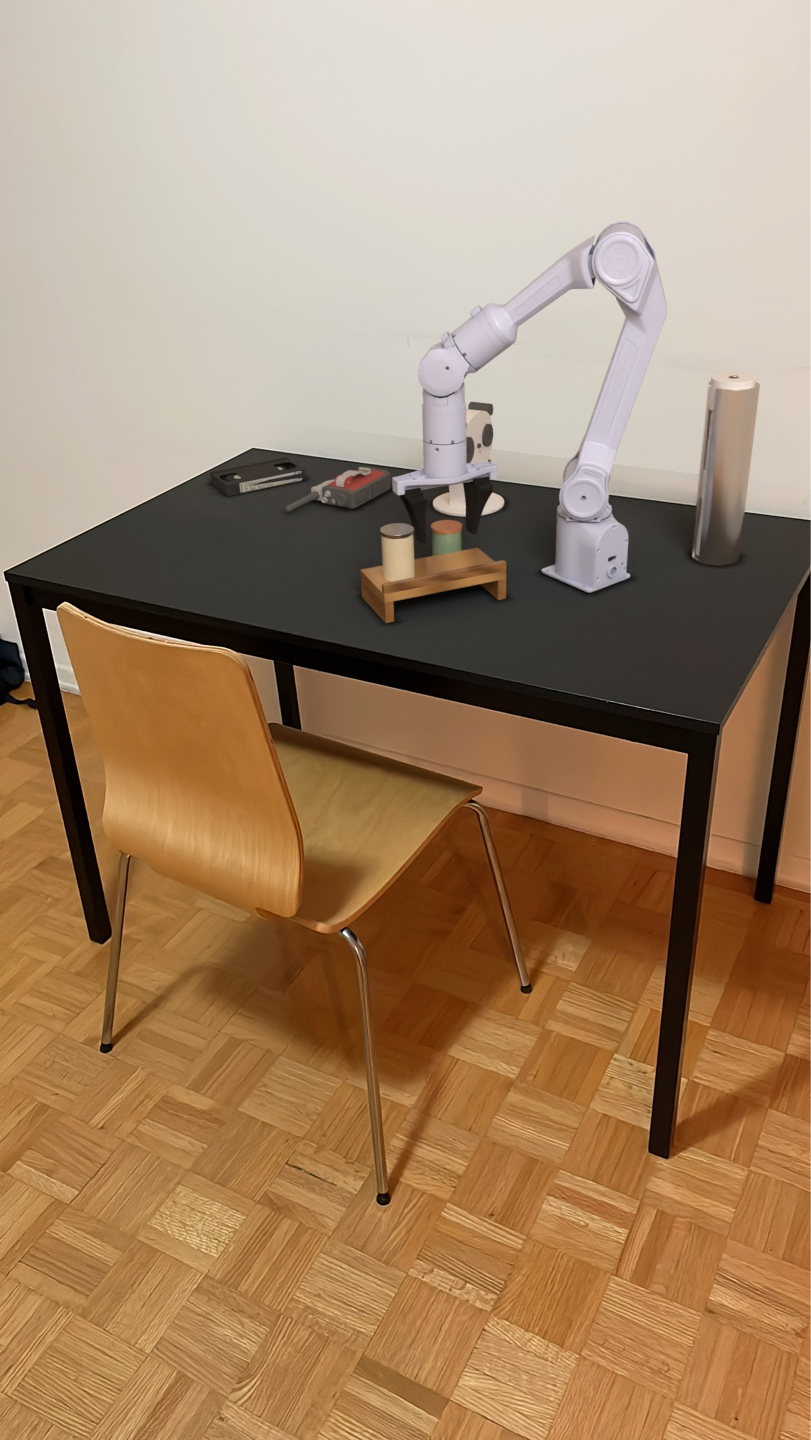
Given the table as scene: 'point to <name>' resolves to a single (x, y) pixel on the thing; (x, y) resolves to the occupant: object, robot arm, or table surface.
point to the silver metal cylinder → (724, 467)
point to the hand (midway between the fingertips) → (446, 536)
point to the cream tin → (397, 551)
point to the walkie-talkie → (348, 488)
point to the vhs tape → (257, 476)
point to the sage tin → (446, 537)
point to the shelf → (434, 579)
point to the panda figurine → (472, 461)
